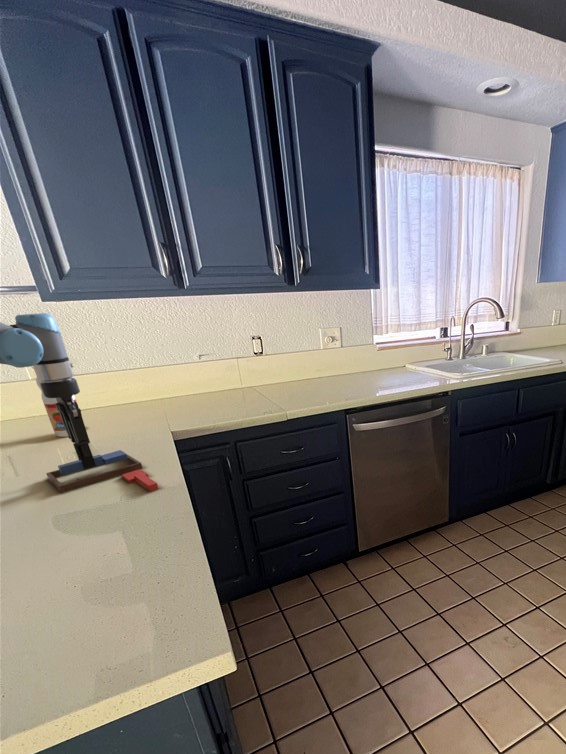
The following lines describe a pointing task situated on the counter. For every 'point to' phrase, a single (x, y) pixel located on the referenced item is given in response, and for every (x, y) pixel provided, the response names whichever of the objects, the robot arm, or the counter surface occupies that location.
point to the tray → (93, 479)
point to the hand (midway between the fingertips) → (88, 465)
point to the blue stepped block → (98, 459)
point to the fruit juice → (54, 413)
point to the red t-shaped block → (141, 479)
